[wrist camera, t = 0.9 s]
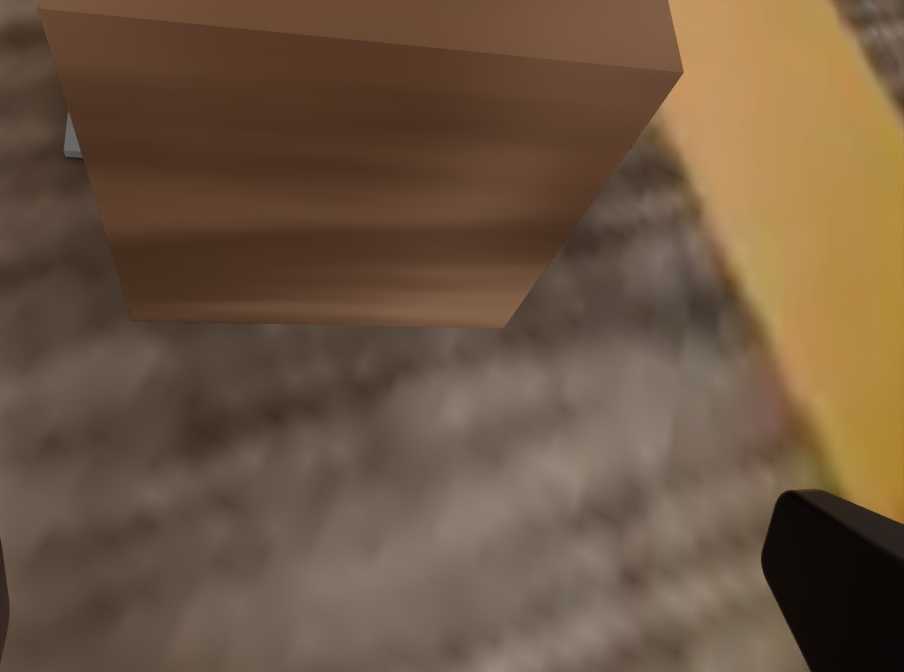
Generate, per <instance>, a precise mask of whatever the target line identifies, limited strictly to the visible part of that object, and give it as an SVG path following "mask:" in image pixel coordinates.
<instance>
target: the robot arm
mask: <svg viewBox="0 0 904 672" xmlns="http://www.w3.org/2000/svg"><path fill="white" fill-rule="evenodd" d="M761 564H762V570H763V573H764V576H765V579H766V581H767V583H768V585H769V587H770V589H771V591H772V593H773V595H774V597H775V599H776V601H777V603H778V605H779V607H780V609H781V612H782V614H783V616H784V618H785V620H786V622H787V624H788V626H789V628H790V630H791V632H792V634H793V636H794V638H795V640H796V642H797V644H798V646H799V648H800V651H801V653H802V655H803V657H804V659H805V661H806V663H807V665H808V667H809V669H810V671H811V672H904V524H901V523H899V522H897V521H894V520H892V519H890V518H887V517H885V516H882V515H880V514H878V513H875V512H873V511H871V510H868V509H866V508H864V507H861V506H859V505H857V504H854V503H852V502H850V501H847V500H845V499H843V498H840V497H838V496H835V495H833V494H831V493H828V492H826V491H823V490H819V489H803V490H788V491H786V492H784V493H782V494H781V495H780V496H779V498H778V499H777V501H776V504H775V507H774V510H773V514H772V517H771V521H770V524H769V528H768V531H767V535H766V538H765V542H764V545H763V549H762V553H761ZM8 623H9V596H8V588H7V581H6V574H5V566H4V559H3V551H2V544H1V539H0V661H1V657H2V652H3V648H4V643H5V639H6V635H7V630H8Z"/></svg>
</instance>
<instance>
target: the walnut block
mask: <svg viewBox="0 0 904 672" xmlns="http://www.w3.org/2000/svg"><path fill="white" fill-rule="evenodd" d="M38 12H39V15H40V18H41V22H42V25H43V28H44V32H45V35H46V38H47V42H48V45H49V48H50V51H51V55H52V58H53V61H54V65H55V68H56V71H57V75H58V78H59V81H60V84H61V88H62V91H63V94H64V98H65V101H66V104H67V108H68V111H69V114H70V118H71V121H72V124H73V127H74V131H75V134H76V137H77V141H78V144H79V147H80V151H81V154H82V157H83V161H84V164H85V167H86V170H87V174H88V177H89V180H90V184H91V187H92V190H93V194H94V197H95V200H96V204H97V207H98V210H99V213H100V217H101V220H102V223H103V227H104V230H105V233H106V237H107V240H108V243H109V247H110V250H111V253H112V256H113V260H114V263H115V266H116V270H117V273H118V276H119V280H120V283H121V286H122V290H123V293H124V296H125V299H126V303H127V306H128V309H129V313H130V316H131V319H132V321H164V322H214V323H264V324H314V325H364V326H414V327H464V328H504V327H505V326H506V324H507V323H508V321H509V320H510V318H511V317H512V316H513V314H514V313H515V311H516V310H517V308H518V307H519V306H520V304H521V303H522V301H523V300H524V299H525V297H526V296H527V294H528V293H529V291H530V290H531V289H532V287H533V286H534V284H535V283H536V281H537V280H538V279H539V277H540V276H541V274H542V273H543V272H544V270H545V269H546V267H547V266H548V264H549V263H550V262H551V260H552V259H553V257H554V256H555V255H556V253H557V252H558V250H559V249H560V247H561V246H562V245H563V243H564V242H565V240H566V239H567V237H568V236H569V235H570V233H571V232H572V230H573V229H574V228H575V226H576V225H577V223H578V222H579V220H580V219H581V218H582V216H583V215H584V213H585V212H586V210H587V209H588V208H589V206H590V205H591V203H592V202H593V201H594V199H595V198H596V196H597V195H598V193H599V192H600V191H601V189H602V188H603V186H604V185H605V184H606V182H607V181H608V179H609V178H610V176H611V175H612V174H613V172H614V171H615V169H616V168H617V166H618V165H619V164H620V162H621V161H622V159H623V158H624V157H625V155H626V154H627V152H628V151H629V149H630V148H631V147H632V145H633V144H634V142H635V141H636V139H637V138H638V137H639V135H640V134H641V132H642V131H643V130H644V128H645V127H646V125H647V124H648V122H649V121H650V120H651V118H652V117H653V115H654V114H655V113H656V111H657V110H658V108H659V107H660V105H661V104H662V103H663V101H664V100H665V98H666V97H667V95H668V94H669V93H670V91H671V90H672V88H673V87H674V86H675V84H676V83H677V81H678V80H679V78H680V77H681V76H682V74H683V73H684V71H683V67H682V62H681V58H680V53H679V49H678V44H677V40H676V35H675V31H674V26H673V22H672V17H671V13H670V8H669V4H668V0H39V1H38Z"/></svg>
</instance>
